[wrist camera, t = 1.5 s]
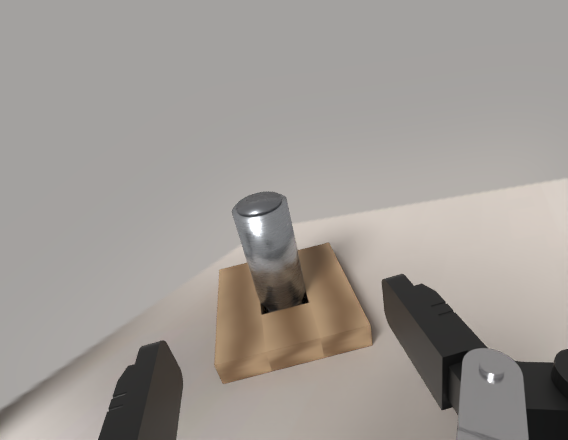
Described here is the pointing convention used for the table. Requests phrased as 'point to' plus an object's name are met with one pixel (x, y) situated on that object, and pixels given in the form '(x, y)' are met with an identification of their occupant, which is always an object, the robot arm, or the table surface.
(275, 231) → the brushed metal cylinder
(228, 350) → the housing
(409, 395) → the table surface
